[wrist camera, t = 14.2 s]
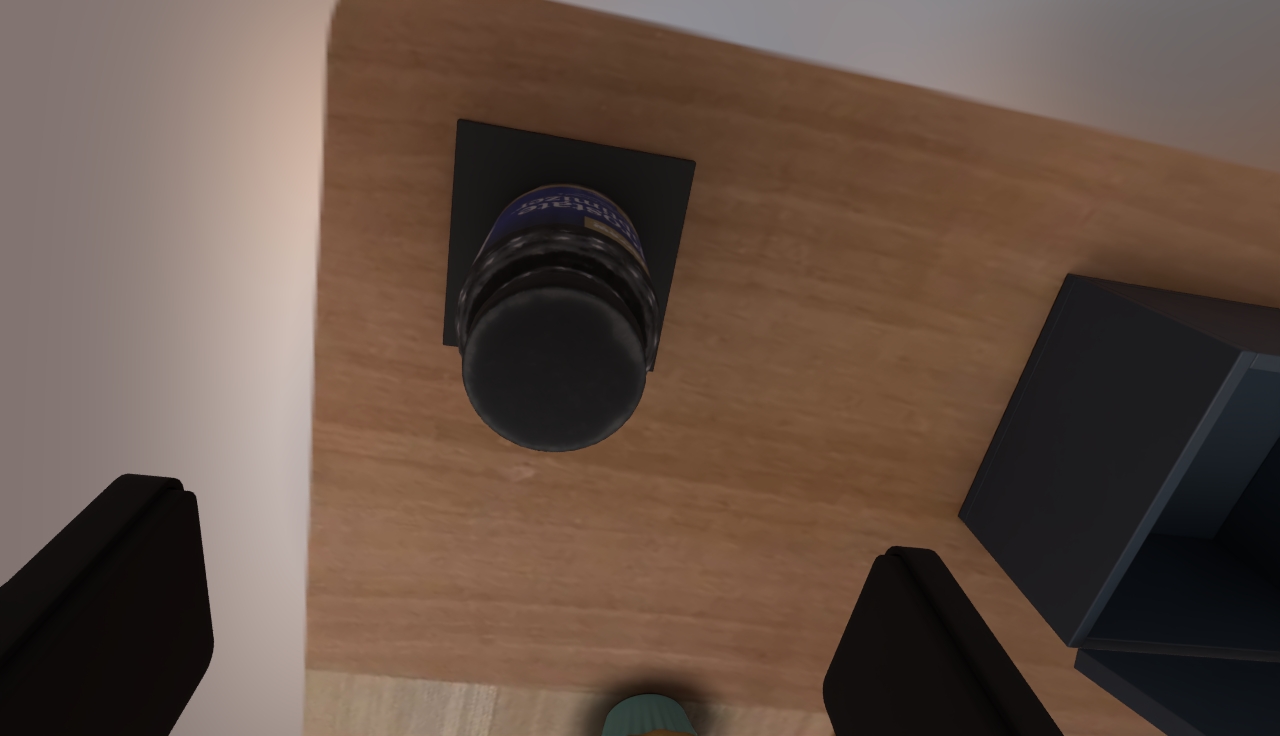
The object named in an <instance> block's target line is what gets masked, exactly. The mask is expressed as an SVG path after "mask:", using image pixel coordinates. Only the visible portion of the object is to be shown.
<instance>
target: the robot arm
mask: <svg viewBox="0 0 1280 736" xmlns="http://www.w3.org/2000/svg"><path fill="white" fill-rule="evenodd" d="M213 648H214V637H213V629H212V620H211V612H210V604H209V596H208V588H207V580H206V571H205V563H204V554H203V547H202V538H201V530H200V521H199V513H198V505H197V499H196V496H195V494H194V493H193V492H191V491H184V488H183V484H182V483H181V482H180V480H178V479H176V478H169V477H159V476H148V475H138V474H124V475H121V476H120V477H118V478H117V479H116V480H114V481H113V482H112V483H111V484H110V485H109V486H108V487H107V488H106V489H105V490H104V491H103V492H102V493H101V494H100V495H98V496H97V498H95V499H94V500H93V501H92V502H91V503H90V504H89V505H88V506H87V507H86V508H85V509H84V510H83V511H82V512H81V513H80V514H79V515H77V516H76V517H75V518H74V519H73V520H72V521H71V522H70V523H69V524H68V525H67V526H66V527H65V528H64V529H63V530H62V531H61V532H59V534H57V535H56V536H55V537H54V538H53V539H52V540H51V541H50V542H49V543H48V544H47V545H46V546H45V547H44V548H43V549H42V550H40V551H39V552H38V553H37V554H36V555H35V556H34V557H33V558H32V559H31V560H30V561H29V562H28V563H27V564H26V565H25V566H24V567H23V568H21V570H19V571H18V572H17V573H16V574H15V575H14V576H13V577H12V578H11V579H10V580H9V581H8V582H6V583H5V584H4V585H2V586H1V587H0V736H168V735H169V734H170V732H171V730H172V729H173V727H174V725H175V724H176V722H177V720H178V719H179V717H180V715H181V713H182V712H183V710H184V708H185V706H186V705H187V703H188V702H189V700H190V698H191V696H192V695H193V693H194V691H195V690H196V688H197V686H198V685H199V683H200V681H201V679H202V678H203V676H204V674H205V672H206V671H207V669H208V667H209V664H210V661H211V658H212V654H213ZM823 699H824V704H825V707H826V710H827V713H828V715H829V718H830V721H831V723H832V726H833V729H834V732H835V734H836V736H1064V735H1063V734H1062V732H1061V731H1060V729H1059V728H1058V726H1057V725H1056V723H1055V722H1054V721H1053V719H1052V718H1051V716H1050V715H1049V713H1048V712H1047V711H1046V709H1045V708H1044V706H1043V705H1042V703H1041V702H1040V700H1039V699H1038V698H1037V696H1036V695H1035V693H1034V692H1033V690H1032V689H1031V688H1030V686H1029V685H1028V683H1027V682H1026V680H1025V679H1024V678H1023V676H1022V675H1021V673H1020V672H1019V670H1018V669H1017V667H1016V666H1015V665H1014V663H1013V662H1012V660H1011V659H1010V657H1009V656H1008V655H1007V653H1006V652H1005V650H1004V649H1003V647H1002V646H1001V644H1000V643H999V642H998V640H997V639H996V637H995V636H994V634H993V633H992V632H991V630H990V629H989V627H988V626H987V624H986V623H985V621H984V620H983V619H982V617H981V616H980V614H979V613H978V611H977V610H976V609H975V607H974V606H973V604H972V603H971V601H970V600H969V598H968V597H967V596H966V594H965V593H964V591H963V590H962V588H961V587H960V586H959V584H958V583H957V581H956V580H955V578H954V577H953V575H952V574H951V573H950V571H949V570H948V568H947V567H946V565H945V564H944V563H943V561H942V560H941V558H940V557H939V556H938V555H937V554H936V552H935V551H932V550H930V549H923V548H912V547H902V546H893V547H891V548H889V549H888V550H887V551H886V553H885V555H879V556H878V557H877V558H876V559H875V561H874V563H873V565H872V568H871V570H870V572H869V575H868V577H867V579H866V582H865V584H864V586H863V589H862V591H861V594H860V596H859V598H858V601H857V603H856V605H855V608H854V610H853V612H852V615H851V617H850V619H849V622H848V624H847V626H846V629H845V631H844V634H843V636H842V638H841V641H840V643H839V645H838V648H837V650H836V652H835V655H834V657H833V659H832V662H831V664H830V667H829V669H828V671H827V674H826V676H825V679H824V682H823Z"/></svg>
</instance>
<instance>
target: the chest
mask: <svg viewBox="0 0 1280 736" xmlns="http://www.w3.org/2000/svg"><path fill="white" fill-rule="evenodd" d="M959 518H960V519H961V520H962V521H963V522H964V523H965V525H966V526H967V527H968V528H969V529H970V531H971V532H972V533H973V534H974V535H975V537H976V538H977V539H978V540H979V541H980V543H981V544H982V545H983V546H984V547H985V549H986V550H987V551H988V552H989V553H990V555H991V556H992V557H993V558H994V559H995V561H996V562H997V563H998V564H999V565H1000V567H1001V568H1002V569H1003V570H1004V571H1005V573H1006V574H1007V575H1008V576H1009V577H1010V579H1011V580H1012V581H1013V582H1014V583H1015V585H1016V586H1017V587H1018V588H1019V589H1020V591H1021V592H1022V593H1023V594H1024V595H1025V597H1026V598H1027V599H1028V600H1029V601H1030V603H1031V604H1032V605H1033V606H1034V607H1035V609H1036V610H1037V611H1038V612H1039V613H1040V615H1041V616H1042V617H1043V618H1044V619H1045V621H1046V622H1047V623H1048V624H1049V625H1050V627H1051V628H1052V629H1053V630H1054V631H1055V633H1056V634H1057V635H1058V636H1059V637H1060V639H1061V640H1062V641H1063V642H1064V643H1065V645H1066V646H1067V647H1072V648H1080V647H1081V648H1086V649H1100V650H1114V651H1128V652H1142V653H1156V654H1170V655H1184V656H1199V657H1213V658H1227V659H1241V660H1255V661H1269V662H1280V309H1277V308H1271V307H1265V306H1259V305H1253V304H1247V303H1241V302H1235V301H1229V300H1223V299H1217V298H1211V297H1205V296H1199V295H1193V294H1187V293H1181V292H1175V291H1169V290H1163V289H1157V288H1151V287H1145V286H1139V285H1133V284H1127V283H1121V282H1115V281H1109V280H1103V279H1097V278H1091V277H1085V276H1079V275H1073V274H1068V275H1067V277H1066V280H1065V282H1064V284H1063V286H1062V289H1061V291H1060V293H1059V295H1058V297H1057V300H1056V302H1055V304H1054V306H1053V308H1052V311H1051V313H1050V315H1049V317H1048V319H1047V322H1046V324H1045V326H1044V328H1043V330H1042V333H1041V335H1040V337H1039V339H1038V341H1037V344H1036V346H1035V348H1034V350H1033V352H1032V355H1031V357H1030V359H1029V361H1028V363H1027V366H1026V368H1025V370H1024V372H1023V374H1022V377H1021V379H1020V381H1019V383H1018V385H1017V388H1016V390H1015V392H1014V394H1013V396H1012V399H1011V401H1010V403H1009V405H1008V408H1007V410H1006V412H1005V414H1004V416H1003V419H1002V421H1001V423H1000V425H999V427H998V430H997V432H996V434H995V436H994V438H993V441H992V443H991V445H990V447H989V449H988V452H987V454H986V456H985V458H984V460H983V463H982V465H981V467H980V469H979V471H978V474H977V476H976V478H975V480H974V482H973V485H972V487H971V489H970V491H969V493H968V496H967V498H966V500H965V502H964V504H963V507H962V509H961V511H960V513H959Z"/></svg>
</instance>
